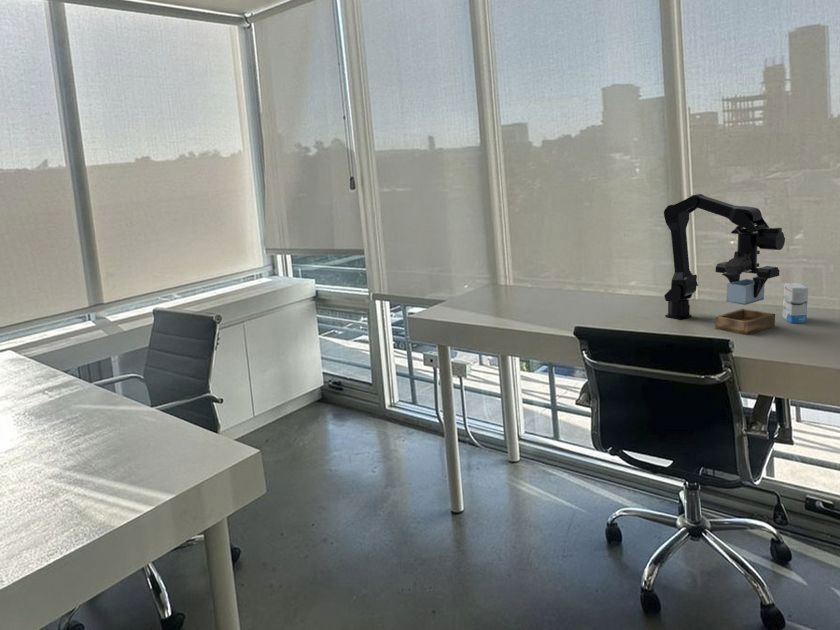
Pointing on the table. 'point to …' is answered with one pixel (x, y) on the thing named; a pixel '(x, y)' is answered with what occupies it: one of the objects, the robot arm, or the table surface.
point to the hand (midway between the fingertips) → (745, 296)
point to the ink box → (795, 302)
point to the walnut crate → (745, 321)
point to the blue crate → (743, 292)
